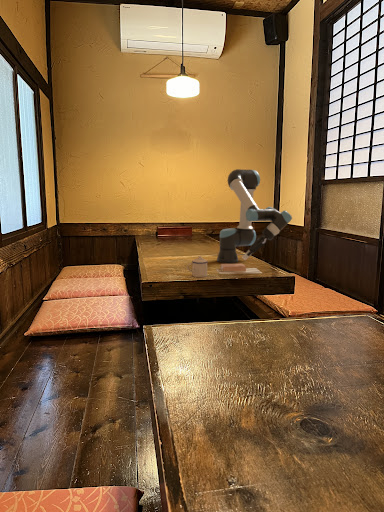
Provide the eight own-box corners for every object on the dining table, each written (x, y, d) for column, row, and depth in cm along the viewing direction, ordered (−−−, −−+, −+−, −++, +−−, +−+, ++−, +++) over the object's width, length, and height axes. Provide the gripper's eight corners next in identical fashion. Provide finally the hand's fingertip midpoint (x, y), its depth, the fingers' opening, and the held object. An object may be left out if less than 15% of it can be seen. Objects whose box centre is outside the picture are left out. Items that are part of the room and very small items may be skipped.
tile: (242, 268, 231) (220, 268, 230) (242, 263, 231) (220, 263, 230) (246, 271, 222) (223, 271, 220) (246, 266, 221) (223, 266, 220)
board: (214, 268, 235) (214, 267, 235) (254, 268, 237) (254, 266, 237) (219, 275, 215) (219, 273, 215) (262, 274, 217) (262, 272, 217)
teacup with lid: (208, 274, 218) (208, 255, 216) (206, 277, 209) (207, 257, 207) (188, 273, 220) (188, 254, 218) (186, 277, 211) (186, 257, 209)
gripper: (277, 237, 218) (249, 265, 219) (271, 235, 231) (245, 261, 232) (269, 228, 217) (241, 256, 218) (263, 226, 229) (237, 253, 231)
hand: (243, 258), depth 225 cm, fingers closed
